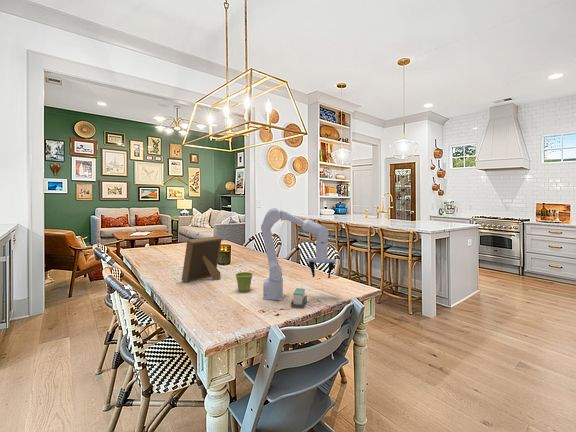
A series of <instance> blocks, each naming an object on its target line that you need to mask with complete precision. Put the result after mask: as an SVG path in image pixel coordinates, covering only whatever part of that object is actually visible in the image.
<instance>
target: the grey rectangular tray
mask: <svg viewBox="0 0 576 432" xmlns="http://www.w3.org/2000/svg"><path fill="white" fill-rule="evenodd" d="M307 301H308V295H305V299H304V301H303V303H302V305H298V304H293V299H292V300H291V302H290V308H292V309H304V308H305V306H306V303H307Z"/></svg>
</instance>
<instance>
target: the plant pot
mask: <svg viewBox="0 0 576 432" xmlns="http://www.w3.org/2000/svg"><path fill="white" fill-rule="evenodd" d="M234 276H235V278H236V282H237V283H236V284H237V290H238V292H240V293H242V292H244V293H246V292H250V290H251V283H252V279H253V276H254V273H253V272H249V271H241V272H237V273H235V274H234Z"/></svg>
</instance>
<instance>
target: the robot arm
mask: <svg viewBox="0 0 576 432" xmlns="http://www.w3.org/2000/svg"><path fill="white" fill-rule="evenodd" d="M280 220H281V221H288V222H291V223H293V224H296V225H298V226H300V227H301V229H302V230H303V231H305V232H307V233H309V234H310V235H311V234H312V235H315V236H316V238H315V239H316V240H315V257H306V263H307V264H308V266H309V269H310V270H311V271H310V272H311V274H312V278H315V275H316V274H315V273H316V272H315V263H316V264H328V275H327V278H328V279H331V272H332V270H333V268H334V266H335V265H337V259H333V258H328V251H329V249H328V248H329V247H328V246H329V245H328V243H329V242H328V239H329V238H328V237H329V236H330V232H329V229H328V228H327V227H325V226H324V225H322V224H321V223H316V222H315V221H313V219H311V218H309V219H308V218H306V219H302V218H300V217H297V216H296V215H293V214H292V213H289V212H287V211H284V210H281V209H280V210H279V209H278V208H276V207H273V208H270V209H269V210H268V211H267V212H266V213H265V216H264V218H263V220H262V224H261V225H260V230H261V234H262V240H263V244H264V248H265V253H266V257H267V262H268V267H269V270H268V272H269V274H268V275H269V276H268V278H266V279H264V281H263V283H262V284H263V285H262V286H263V288H262V299H264V300H273V301H282V300H283V299H284V297H285V296H286V295H285V294H284V290H283V289H284V279H283V272H282V271H283V270H282V266H281V265H280V264H279V260H278V257H277V252H276V247H275V244H274V239H273V238H274V237H273V235H272V228H273V226H274V225H275V224H276V223H278V222H279V221H280Z"/></svg>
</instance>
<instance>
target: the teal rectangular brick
mask: <svg viewBox="0 0 576 432" xmlns="http://www.w3.org/2000/svg"><path fill="white" fill-rule="evenodd" d="M305 292H306V288H300V287H299V288H298V287H296V288H295V289H294V292H293V293H292V294H293V295H292V297H293V299H292V300H293V304H298V305H302V303H303V301H304V299H305V296H306V295H305Z"/></svg>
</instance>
